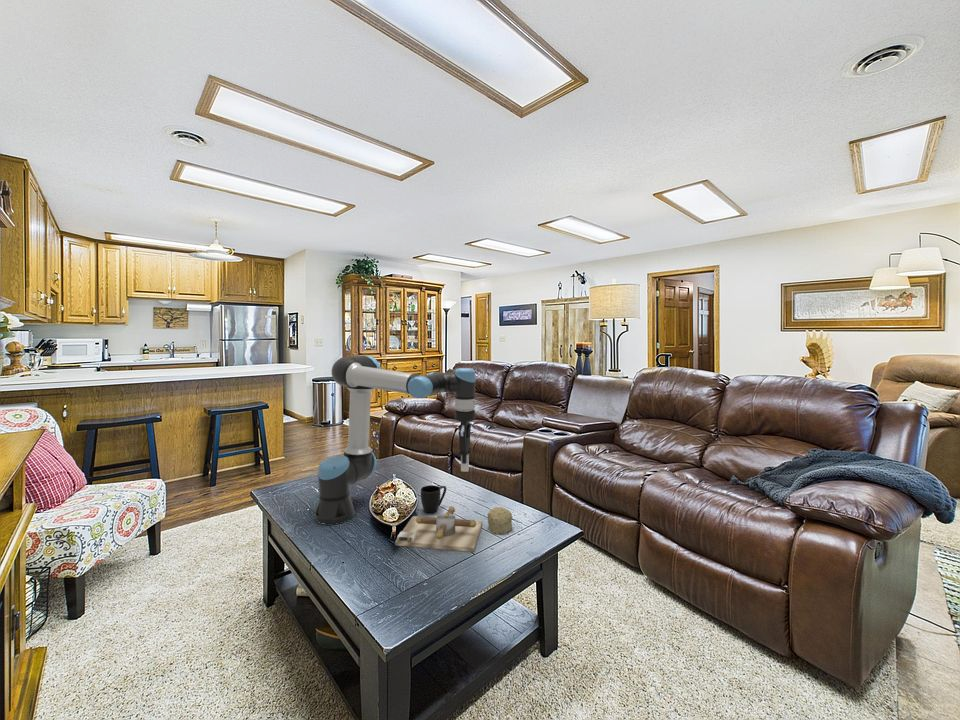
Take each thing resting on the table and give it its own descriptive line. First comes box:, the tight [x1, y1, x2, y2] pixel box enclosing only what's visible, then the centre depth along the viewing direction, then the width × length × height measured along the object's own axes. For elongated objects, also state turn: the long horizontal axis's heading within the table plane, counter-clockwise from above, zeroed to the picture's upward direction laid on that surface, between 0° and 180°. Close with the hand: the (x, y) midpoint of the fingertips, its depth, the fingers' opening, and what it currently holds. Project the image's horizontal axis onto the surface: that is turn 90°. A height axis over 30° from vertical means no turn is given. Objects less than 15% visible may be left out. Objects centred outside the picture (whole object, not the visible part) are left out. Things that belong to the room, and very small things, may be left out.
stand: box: [394, 515, 483, 553], centre depth 152 cm, size 28×20×3 cm
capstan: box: [416, 506, 477, 539], centre depth 151 cm, size 23×23×6 cm
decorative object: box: [487, 506, 513, 535], centre depth 157 cm, size 9×10×10 cm
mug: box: [420, 484, 447, 515], centre depth 173 cm, size 8×12×10 cm
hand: (464, 470), depth 156 cm, fingers closed
